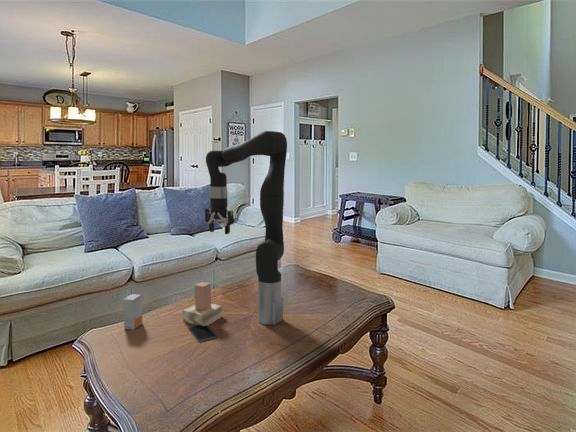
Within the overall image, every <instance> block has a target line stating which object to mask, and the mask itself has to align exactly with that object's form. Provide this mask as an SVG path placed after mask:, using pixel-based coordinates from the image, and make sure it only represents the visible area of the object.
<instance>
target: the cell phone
mask: <svg viewBox="0 0 576 432" xmlns="http://www.w3.org/2000/svg"><path fill="white" fill-rule="evenodd" d="M187 329H188V331H189V332H190V333H191V335H192V337H194V338H195V340H196V341H197V342H198V343H200V344H202V343H204V342H208V341H212V340H216V339H218V335H217V334H216V333H215V332H214V331H213V330H212V328H211V327H210V326H209V325H206V326H201V325H195V324H194V325H192V326H189V327H187Z"/></svg>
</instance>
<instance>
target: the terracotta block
mask: <svg viewBox="0 0 576 432" xmlns="http://www.w3.org/2000/svg"><path fill="white" fill-rule="evenodd" d="M211 286H212V285H211V283H210V282H206V281H205V282H203V281H201V282H198V283H196V284H194V288H193V289H194V304H195V309H198V310H202V311H205V310H207V309H209V308H210V307H211V304H212V289H211Z"/></svg>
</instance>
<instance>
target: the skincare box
mask: <svg viewBox="0 0 576 432" xmlns="http://www.w3.org/2000/svg"><path fill="white" fill-rule="evenodd" d="M122 305H123V310H122V311H123V325H124V329H125V330H132V331H133V330H135V329H136V328H138V327H139V326H141V325H142V324H143V303H142V294H135V293H132V294H130V295H128V296H126V297H124V298H123V299H122Z"/></svg>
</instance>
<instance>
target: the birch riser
mask: <svg viewBox="0 0 576 432" xmlns="http://www.w3.org/2000/svg"><path fill="white" fill-rule="evenodd" d="M222 317H223V306H222V305H219V304H215V303H211V307H210V308H209V309H207V310H205V311H202V310H198V309H195V303H194V304H192V305H190V306H188V307H187V308H184V309H182V321H183V322H186V323H188V324H192V325H194V326H195V325H201V326H206V325H208V326H209V325H211V324H213V323H214V322H215V321H217V320H219V319H221V318H222Z"/></svg>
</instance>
